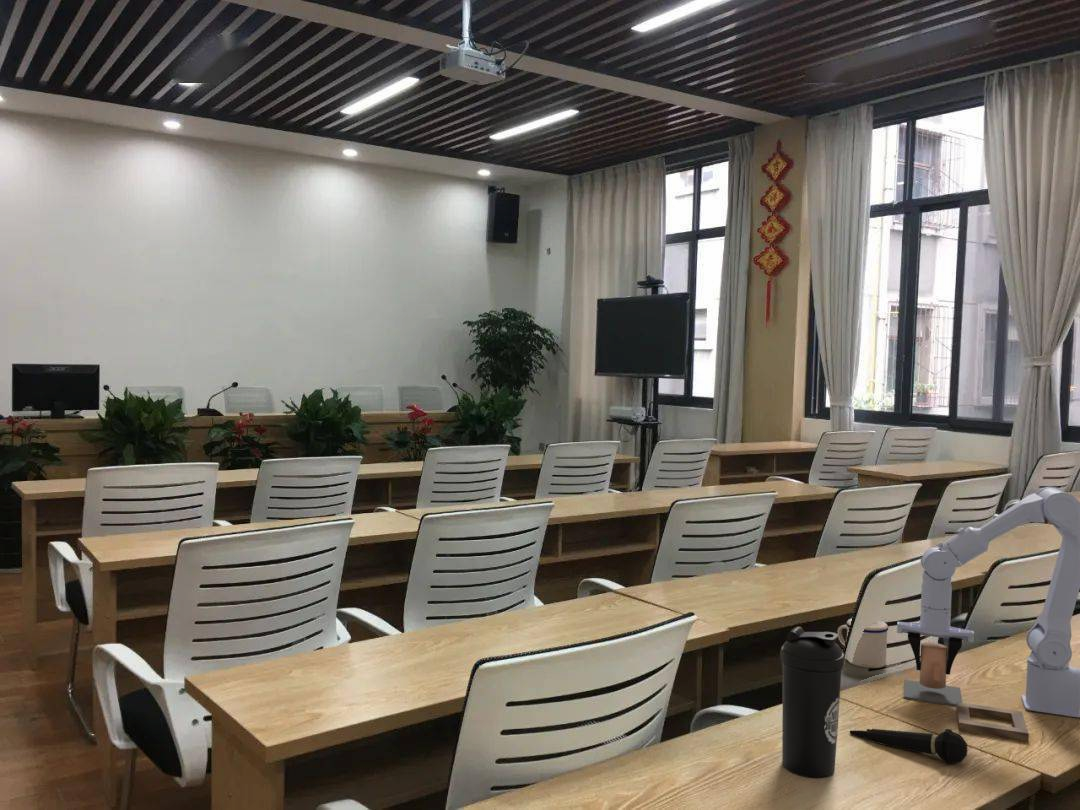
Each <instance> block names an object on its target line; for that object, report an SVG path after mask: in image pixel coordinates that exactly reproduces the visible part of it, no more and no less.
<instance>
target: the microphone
mask: <svg viewBox="0 0 1080 810" xmlns="http://www.w3.org/2000/svg"><path fill="white" fill-rule="evenodd" d="M849 734H850V735H852V736H855V737H859V738H863V739H865V740H867V739H868V741H871V742H872V741H873V742H872V743H876V742H877V743H876V744H880V743H881V744H882V745H884V744H885V745H884V746H888V747H894V748H899V749H903V750H907V751H908V750H909V751H911V752H916V753H923V754H926V755H931V756H935V755H937V756H938V757H939V758H940V759H941V760H943V762H944V763H945V764H947V765H952V764H957V763H958V764H959V763H961V762H963V760H964V759H965V758H966V756H968V744H967V741H966V740H965V738H964V737H963V736H962V735H961V734H959V733H958V732H955V731H953V730H952V729H951V728H950V729H948V728H946V729H945V730H944V731H941V732H940V733H939V734H938V735H935V733H927V732H926V733H925V732H915V731H903V730H893V729H879V728H872V729H870V728H867V729H866V730H850V731H849ZM881 744H880V745H881Z"/></svg>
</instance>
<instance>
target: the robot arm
mask: <svg viewBox="0 0 1080 810" xmlns="http://www.w3.org/2000/svg"><path fill="white" fill-rule="evenodd" d="M1045 519H1046V520H1048V521H1049V522H1050V523H1051V524H1052V525H1053V527H1054V528H1055V529H1056V531H1057V533H1058V534H1059V535H1060V536H1061V538H1062V539H1061V543H1060V547H1059V550H1058V552H1057V553H1058V554H1057V558H1056V561H1055V564H1054V568H1053V572H1052V576H1051V578H1050V583H1049V585H1048V591H1047V594H1046V598H1045V601H1044V605H1043V608H1042V612H1040V614H1039V615H1038V616H1037V617H1036V621H1035V623H1034V625H1033V626H1032V627H1031V628H1030V629H1029V630H1028V631H1027V634H1026V637H1025V638H1026V645H1027V646H1028V648H1029V649H1030V650H1031V652H1030V654H1029V655H1028V656H1027V661H1026V662H1027V663H1026V665H1027V666H1026V683H1025V684H1026V686H1025V687H1026V688H1025V694H1021V700H1022V703H1023V705H1024V708H1025V710H1026V711H1032V712H1037V713H1044V714H1050V715H1051V714H1052V715H1058V716H1063V717H1064V716H1065V717H1072V718H1078V719H1079V718H1080V668H1079V667H1077V666H1071V665H1070V664H1069V663H1070V662H1071V660H1072V656H1073V652H1072V651H1073V650H1072V647H1071V640H1072V637H1073V636H1072V635H1073V634H1072V627H1071V626H1072V625H1071V622H1072V621H1071V620H1072V618H1073V614H1074V610H1075V607H1076V603H1077V600H1078V596H1079V591H1080V501H1079V500H1078V499H1077V498H1076V497H1075V496H1074V495H1072V494H1071V493H1069V492H1065V491H1064V490H1062V489H1061V488H1058V487H1055V486H1045V487H1042V488H1041V489H1039V490H1038V491H1036V493H1035V492H1034V493H1031V494H1029V495H1027V496H1025V497H1024V498H1022V499H1021V500H1020V501H1017V502H1016V503H1014V504H1013V505H1012V506H1010V507H1009V508H1007V509H1005V511H1003V512H1001V513H1000V514H998V515H997V516H996V517H994V518H993V519H991V520H989V521H988V522H986V523H984V524H983V525H982V526H980V527H973V526H972V527H971V526H968V527H967V528H963V527H960V528H958V529H956V532H957V534H955V535H953V536H951V537H950V538H948V539H946V540H945V541H943V542H942V541H938V542H937V543H936V545H937V546H935V547H934V546H933V547H930V548H927V549H926V550H925V551H924V552H923V554H922V556H921V558H920V565H921V567H922V569H924V570H923V572H922V582H921V593H920V594H921V599H920V618H919V620H920V621H919V622H904V621H897V625H896V633H897V634H907V640H908V642H909V645H910V648H911V650H912V652H913V656H914V659H915V664H916V667H915V668H916V671H920V659H921V639H922V638H921V636H926V637H927V636H928V637H935V638H943V639H947V668H946V675H951V670H952V667H953V663H954V661H955V659H956V657H957V655H958V653H959V652H960V650H961V649H962V647H963V642H964V641H965V642H966V641H967V642H969V643H974V642H975V641H974V640H975V639H974V637H975V631H974V630H969V629H965V628H959V627H954V626H951V619H952V618H951V616H952V594H953V593H952V591H953V587H952V577H953V576H954V574H955V572H956V569H957V568H961V567H962V566H964V565H966V564H967V563H969V562H971V561H973V560H974V559H976V558H977V557H979V556H980V555H982V554H985V552H988V549H989V545H990V542H992V541H994V540H995V539H997V538H999V537H1001V536H1003V535H1004V534H1006V533H1008V532H1010V531H1012V530H1014V529H1015V528H1016V529H1017V527H1019V526H1021V525H1023V524H1025V523H1042V524H1043V523H1046V522H1045Z"/></svg>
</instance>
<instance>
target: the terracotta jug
mask: <svg viewBox="0 0 1080 810" xmlns="http://www.w3.org/2000/svg"><path fill="white" fill-rule="evenodd" d="M947 655H948V646H946V645H944V644H942V643H937V642H935V641H928V642H923V643H920V670H919V682H920V684H921V685H923V686H925V687H928V688H934V689H942V688H945V687H946V686H947V674H946V668H947Z"/></svg>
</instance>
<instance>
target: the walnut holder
mask: <svg viewBox="0 0 1080 810" xmlns="http://www.w3.org/2000/svg"><path fill="white" fill-rule="evenodd" d="M955 711H956V718H957V727H958V731H961V732H967V733H973V734H980V735H985V736H992V737H998V738H1004V739H1009V740H1010V739H1011V740H1017V741H1023V742H1029V737H1030V736H1029V735H1030V733H1029V730H1028V727H1027V723H1026V721H1025V718H1024V714H1023V711H1020V710H1014V709H1007V708H1001V707H994V706H988V705H987V706H986V705H981V704H974V703H973V704H972V703H968V702H962V703H961V702H956V706H955ZM970 716H974V717H982V718H989V719H993V720H994V719H996V720H997V719H998V720H1001V721H1007V722H1011V726H1008V725H1000V724H996V723H995V724H994V723H990V722H981V721H976V720H971V717H970Z"/></svg>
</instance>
